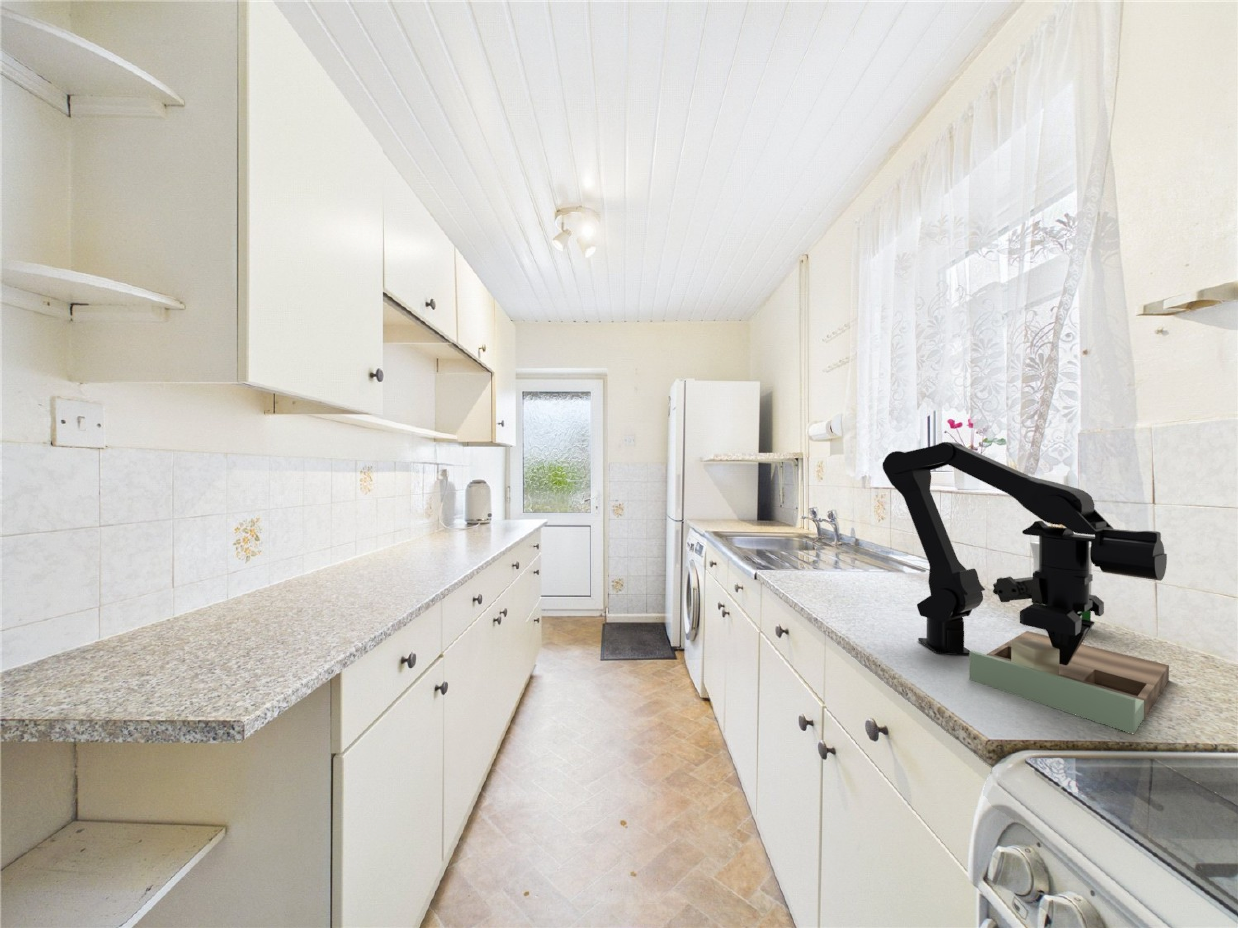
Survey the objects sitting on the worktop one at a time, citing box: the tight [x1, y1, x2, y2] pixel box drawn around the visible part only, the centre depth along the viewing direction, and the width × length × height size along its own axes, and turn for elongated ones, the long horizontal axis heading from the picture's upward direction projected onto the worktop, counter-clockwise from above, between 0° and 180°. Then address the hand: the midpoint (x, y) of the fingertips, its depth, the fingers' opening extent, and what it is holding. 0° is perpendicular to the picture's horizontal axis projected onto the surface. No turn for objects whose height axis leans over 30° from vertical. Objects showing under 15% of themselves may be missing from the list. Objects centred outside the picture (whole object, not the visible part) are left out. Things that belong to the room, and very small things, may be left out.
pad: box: [968, 650, 1145, 734], centre depth 69 cm, size 7×18×4 cm, turn 33°
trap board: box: [985, 630, 1170, 718], centre depth 76 cm, size 21×18×2 cm
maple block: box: [1011, 639, 1059, 675], centre depth 73 cm, size 4×4×4 cm
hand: (1063, 664), depth 72 cm, fingers closed
